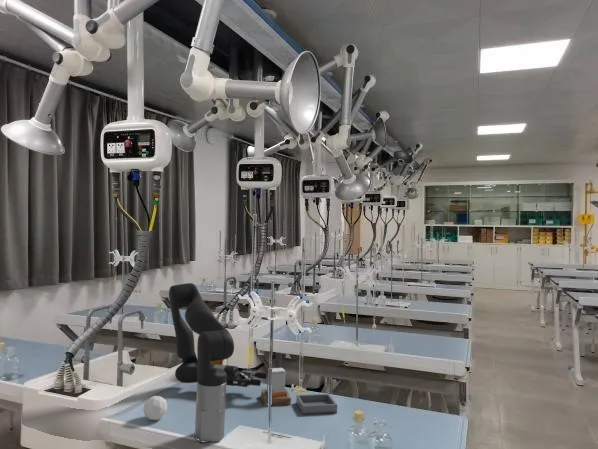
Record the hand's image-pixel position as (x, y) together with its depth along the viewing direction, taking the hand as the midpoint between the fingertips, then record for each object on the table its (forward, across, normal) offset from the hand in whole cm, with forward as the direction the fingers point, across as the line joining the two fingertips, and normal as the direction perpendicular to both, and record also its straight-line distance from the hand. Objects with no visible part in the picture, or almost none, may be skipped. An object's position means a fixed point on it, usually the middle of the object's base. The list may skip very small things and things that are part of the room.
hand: (263, 379), depth 176 cm
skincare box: (+5, 0, +8) cm, 9 cm away
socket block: (+5, 0, +8) cm, 9 cm away
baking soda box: (-28, +23, +8) cm, 37 cm away
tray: (+22, -2, +8) cm, 23 cm away
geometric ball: (-30, -29, +8) cm, 42 cm away
